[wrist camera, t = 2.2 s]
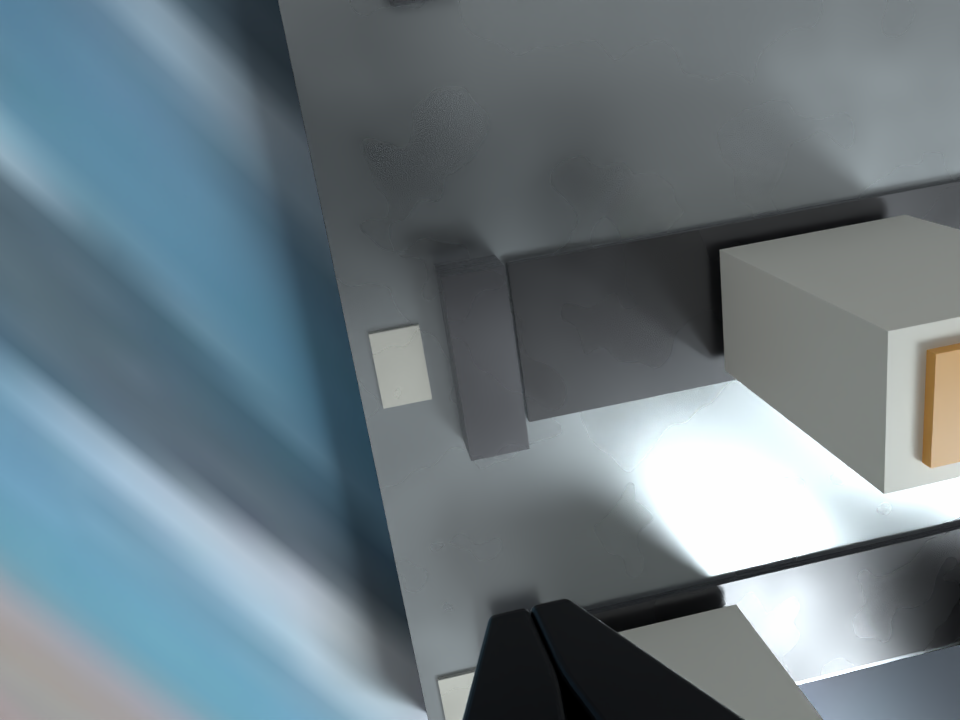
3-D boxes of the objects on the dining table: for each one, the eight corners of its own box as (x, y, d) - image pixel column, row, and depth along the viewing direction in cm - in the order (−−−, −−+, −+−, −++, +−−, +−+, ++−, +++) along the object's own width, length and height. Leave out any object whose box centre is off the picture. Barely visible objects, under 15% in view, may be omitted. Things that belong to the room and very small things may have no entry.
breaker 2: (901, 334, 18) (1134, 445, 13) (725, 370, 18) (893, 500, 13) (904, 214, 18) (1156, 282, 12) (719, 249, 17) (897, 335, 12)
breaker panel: (1078, 559, 25) (1174, 622, 22) (429, 715, 23) (444, 807, 20) (1181, -317, 18) (1345, -389, 15) (238, -206, 15) (220, -264, 13)
